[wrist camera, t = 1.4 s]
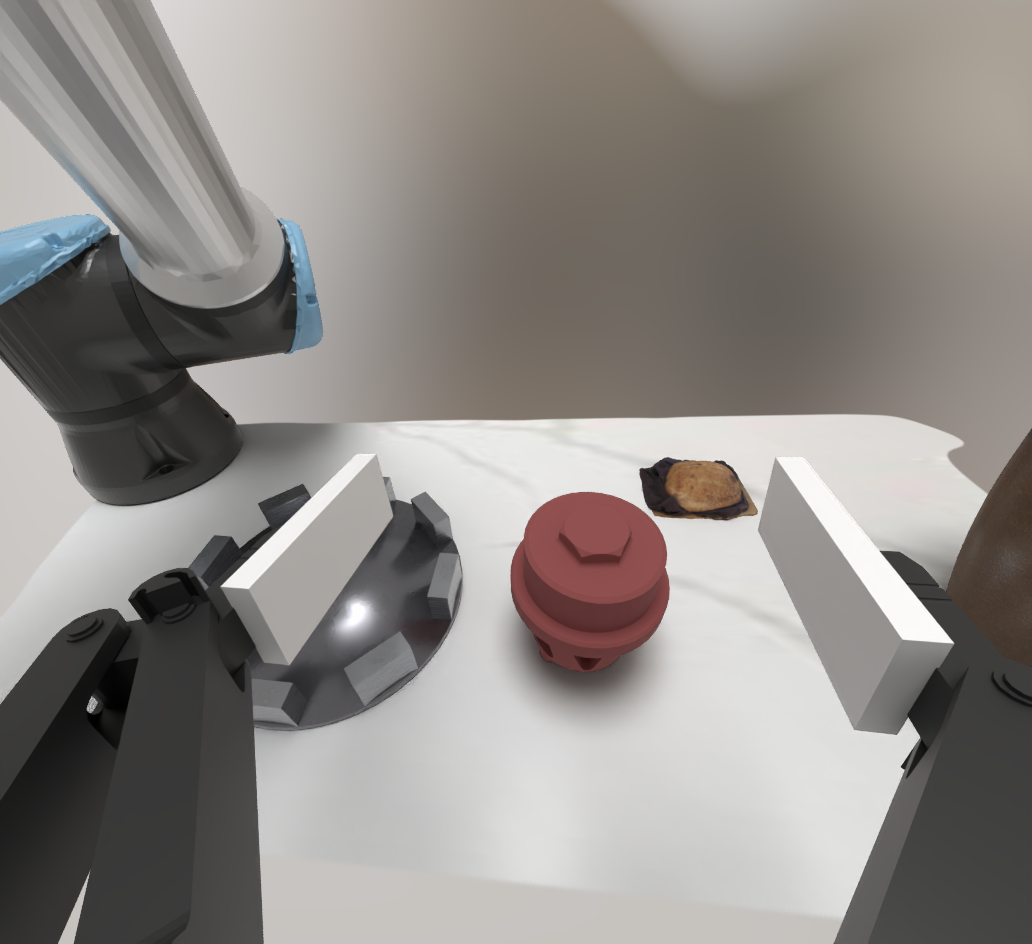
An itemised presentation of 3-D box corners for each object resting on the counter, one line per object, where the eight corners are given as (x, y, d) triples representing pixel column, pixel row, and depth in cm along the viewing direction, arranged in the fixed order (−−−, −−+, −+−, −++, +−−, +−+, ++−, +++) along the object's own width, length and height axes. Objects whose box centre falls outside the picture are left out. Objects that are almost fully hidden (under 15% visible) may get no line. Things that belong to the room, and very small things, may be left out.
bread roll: (728, 468, 48) (739, 441, 46) (760, 524, 42) (775, 497, 40) (633, 468, 48) (639, 441, 46) (650, 524, 42) (658, 497, 40)
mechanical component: (674, 656, 32) (562, 736, 28) (589, 561, 38) (488, 615, 34) (727, 551, 24) (579, 642, 20) (607, 452, 30) (478, 507, 26)
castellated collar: (279, 494, 45) (266, 468, 42) (480, 508, 43) (478, 481, 41) (122, 713, 29) (86, 690, 27) (427, 747, 28) (419, 727, 25)
